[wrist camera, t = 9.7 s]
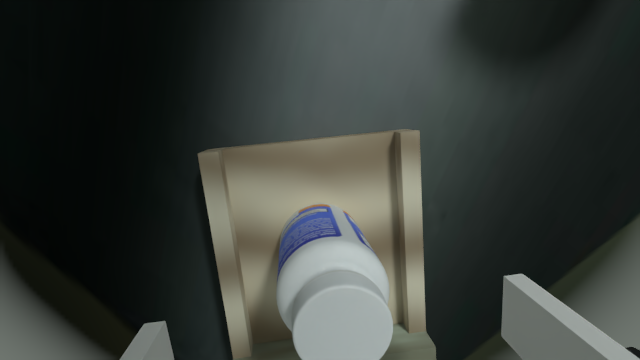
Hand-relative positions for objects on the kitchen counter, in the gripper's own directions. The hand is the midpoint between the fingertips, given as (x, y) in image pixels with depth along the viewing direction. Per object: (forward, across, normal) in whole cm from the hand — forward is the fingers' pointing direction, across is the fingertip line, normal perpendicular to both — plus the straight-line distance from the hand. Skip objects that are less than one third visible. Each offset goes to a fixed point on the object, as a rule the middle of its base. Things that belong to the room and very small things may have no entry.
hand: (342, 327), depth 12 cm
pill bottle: (+10, 0, 0) cm, 10 cm away
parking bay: (+11, 0, -1) cm, 11 cm away
